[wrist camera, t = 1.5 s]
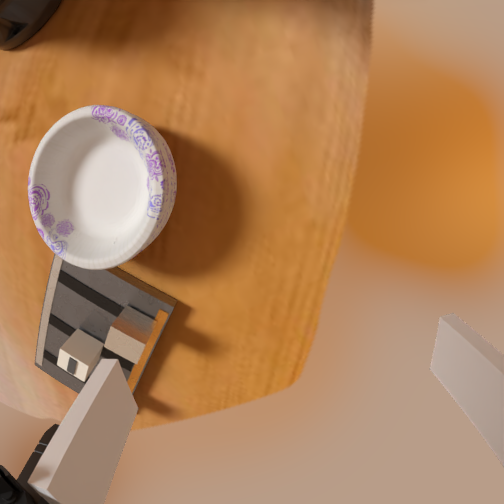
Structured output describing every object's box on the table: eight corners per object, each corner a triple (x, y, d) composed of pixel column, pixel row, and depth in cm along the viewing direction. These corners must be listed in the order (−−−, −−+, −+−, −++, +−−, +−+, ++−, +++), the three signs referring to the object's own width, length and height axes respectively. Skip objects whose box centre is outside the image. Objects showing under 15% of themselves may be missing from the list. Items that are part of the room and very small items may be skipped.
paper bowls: (45, 195, 31) (5, 205, 23) (114, 91, 28) (82, 74, 20) (130, 275, 34) (104, 303, 26) (213, 172, 31) (203, 174, 23)
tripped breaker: (73, 344, 34) (56, 365, 29) (77, 328, 33) (59, 349, 28) (98, 359, 34) (83, 382, 29) (104, 343, 34) (87, 367, 29)
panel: (40, 358, 37) (18, 384, 30) (66, 237, 32) (32, 253, 25) (126, 408, 40) (112, 441, 33) (177, 300, 35) (163, 331, 28)
